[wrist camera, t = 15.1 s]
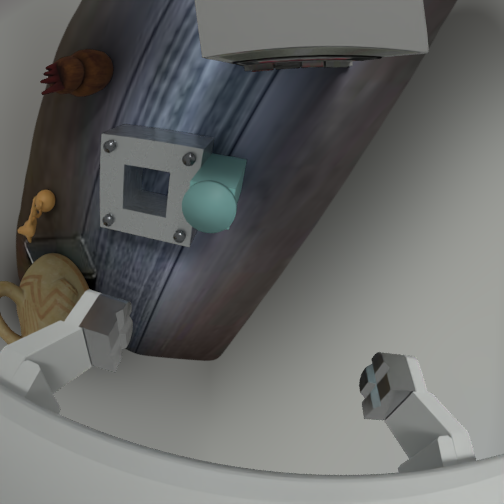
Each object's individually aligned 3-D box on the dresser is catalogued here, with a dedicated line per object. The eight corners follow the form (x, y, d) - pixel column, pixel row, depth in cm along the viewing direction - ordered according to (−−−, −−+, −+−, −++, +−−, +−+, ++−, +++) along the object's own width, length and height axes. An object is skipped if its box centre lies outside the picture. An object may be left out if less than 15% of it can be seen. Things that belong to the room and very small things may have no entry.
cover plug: (209, 149, 44) (184, 178, 33) (251, 156, 44) (240, 188, 33) (204, 188, 47) (179, 227, 36) (243, 195, 47) (231, 237, 36)
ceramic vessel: (68, 317, 66) (18, 398, 45) (20, 250, 57) (-48, 324, 36) (116, 303, 61) (63, 401, 40) (63, 224, 52) (-20, 310, 31)
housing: (124, 123, 42) (99, 134, 36) (214, 137, 43) (202, 150, 36) (120, 207, 49) (98, 228, 43) (200, 224, 50) (188, 249, 44)
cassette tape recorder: (246, 72, 37) (201, 71, 16) (240, 31, 34) (189, -19, 13) (350, 67, 36) (431, 65, 14) (346, 25, 32) (420, -22, 11)
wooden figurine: (117, 91, 39) (56, 105, 27) (86, 93, 40) (21, 110, 27) (119, 47, 36) (57, 46, 23) (87, 52, 36) (21, 56, 23)
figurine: (47, 172, 47) (3, 200, 37) (71, 185, 48) (30, 216, 38) (41, 210, 51) (2, 241, 41) (64, 223, 52) (27, 258, 42)
